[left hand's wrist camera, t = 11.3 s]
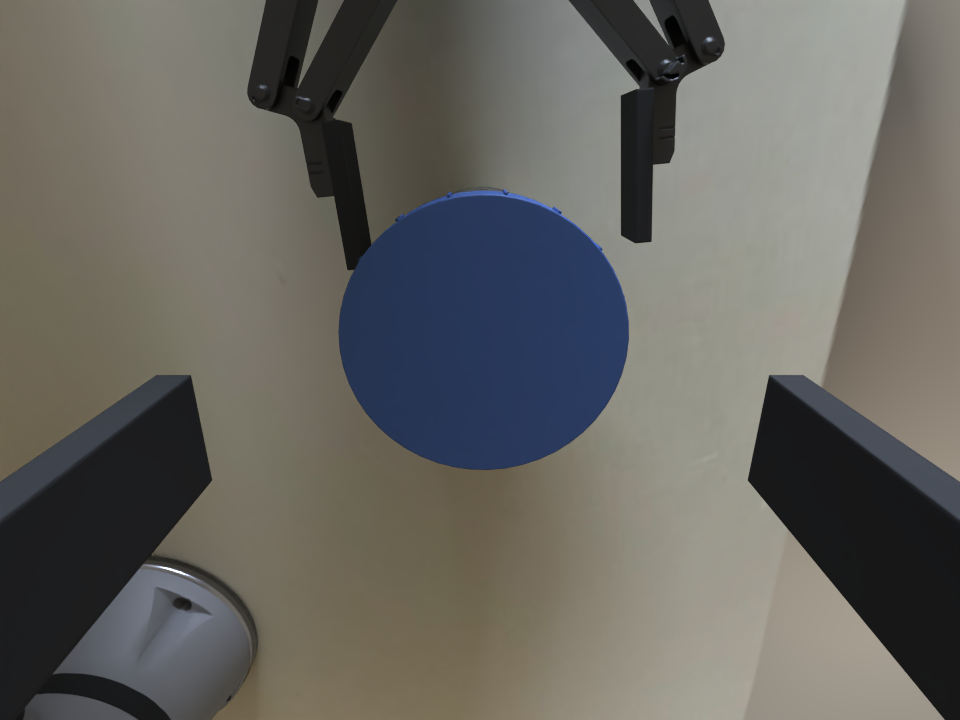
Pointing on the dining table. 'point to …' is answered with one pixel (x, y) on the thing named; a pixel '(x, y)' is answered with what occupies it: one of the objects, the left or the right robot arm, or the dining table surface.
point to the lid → (483, 330)
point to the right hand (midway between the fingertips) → (497, 252)
